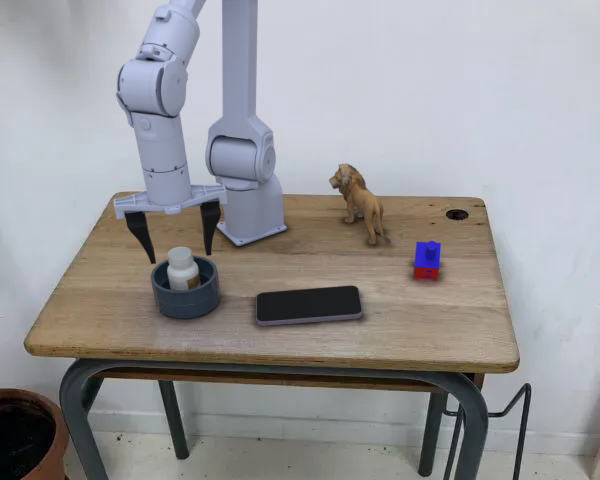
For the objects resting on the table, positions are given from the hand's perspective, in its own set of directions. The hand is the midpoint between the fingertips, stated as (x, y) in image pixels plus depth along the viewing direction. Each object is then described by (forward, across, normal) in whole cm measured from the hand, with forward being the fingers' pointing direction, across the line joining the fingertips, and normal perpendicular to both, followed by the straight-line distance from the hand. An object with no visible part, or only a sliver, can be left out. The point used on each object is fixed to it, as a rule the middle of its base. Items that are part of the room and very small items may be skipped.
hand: (180, 256), depth 96 cm
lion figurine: (+8, +30, +14) cm, 34 cm away
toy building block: (+8, +36, -2) cm, 37 cm away
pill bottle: (+7, 0, 0) cm, 7 cm away
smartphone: (+8, +17, -6) cm, 19 cm away
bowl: (+8, 0, 0) cm, 8 cm away
